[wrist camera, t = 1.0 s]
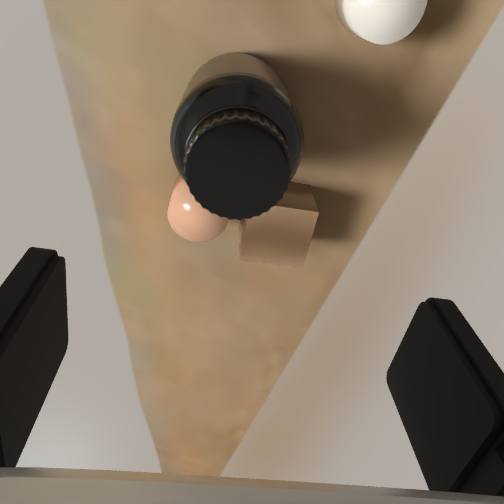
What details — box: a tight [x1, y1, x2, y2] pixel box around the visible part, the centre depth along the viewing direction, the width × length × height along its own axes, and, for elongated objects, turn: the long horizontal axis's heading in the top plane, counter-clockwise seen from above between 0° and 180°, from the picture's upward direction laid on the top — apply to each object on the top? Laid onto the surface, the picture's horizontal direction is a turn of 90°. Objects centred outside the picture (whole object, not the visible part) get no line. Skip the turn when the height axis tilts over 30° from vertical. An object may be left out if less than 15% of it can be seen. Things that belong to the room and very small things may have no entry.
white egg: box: [336, 0, 427, 44], centre depth 25 cm, size 4×4×4 cm
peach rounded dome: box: [168, 174, 228, 242], centre depth 31 cm, size 4×4×4 cm
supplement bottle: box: [170, 53, 304, 220], centre depth 24 cm, size 7×7×12 cm
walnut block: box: [239, 182, 319, 268], centre depth 32 cm, size 4×4×4 cm
